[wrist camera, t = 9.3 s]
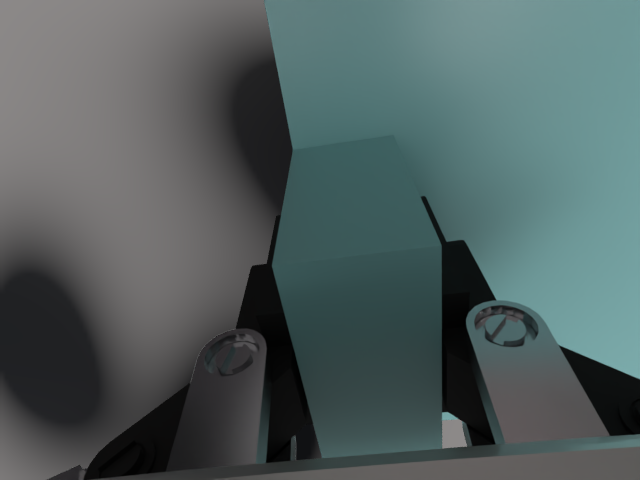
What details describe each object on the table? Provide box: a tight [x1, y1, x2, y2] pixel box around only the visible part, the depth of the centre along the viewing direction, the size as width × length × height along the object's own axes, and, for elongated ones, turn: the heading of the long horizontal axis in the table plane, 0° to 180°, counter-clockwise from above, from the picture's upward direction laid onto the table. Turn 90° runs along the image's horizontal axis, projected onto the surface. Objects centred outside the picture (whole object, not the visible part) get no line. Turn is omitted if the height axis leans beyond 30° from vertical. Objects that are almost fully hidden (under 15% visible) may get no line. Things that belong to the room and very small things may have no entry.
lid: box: [264, 0, 640, 458], centre depth 10 cm, size 17×15×8 cm
